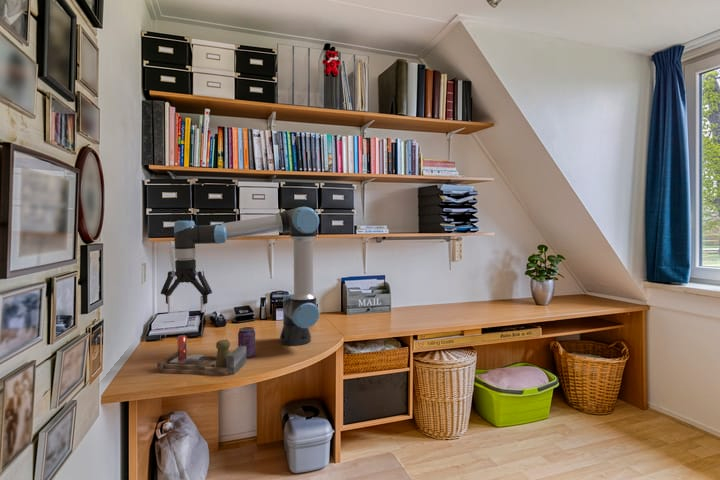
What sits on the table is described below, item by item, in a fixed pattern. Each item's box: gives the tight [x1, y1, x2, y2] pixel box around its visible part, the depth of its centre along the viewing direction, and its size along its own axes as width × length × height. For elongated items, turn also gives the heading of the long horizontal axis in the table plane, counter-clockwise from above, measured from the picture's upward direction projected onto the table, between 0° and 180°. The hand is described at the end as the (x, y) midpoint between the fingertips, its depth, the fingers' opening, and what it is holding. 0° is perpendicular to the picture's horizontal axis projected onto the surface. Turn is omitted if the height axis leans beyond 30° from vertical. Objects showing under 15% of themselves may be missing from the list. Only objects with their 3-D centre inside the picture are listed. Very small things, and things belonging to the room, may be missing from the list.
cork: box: [215, 339, 231, 368], centre depth 150 cm, size 6×6×11 cm
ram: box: [169, 334, 205, 365], centre depth 152 cm, size 11×8×11 cm
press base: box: [156, 346, 247, 376], centre depth 151 cm, size 30×14×7 cm, turn 85°
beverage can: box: [237, 326, 256, 359], centre depth 164 cm, size 7×7×12 cm
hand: (187, 311), depth 153 cm, fingers open, 13 cm apart
